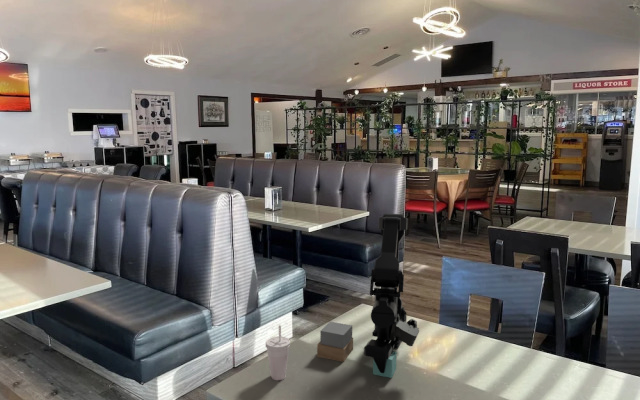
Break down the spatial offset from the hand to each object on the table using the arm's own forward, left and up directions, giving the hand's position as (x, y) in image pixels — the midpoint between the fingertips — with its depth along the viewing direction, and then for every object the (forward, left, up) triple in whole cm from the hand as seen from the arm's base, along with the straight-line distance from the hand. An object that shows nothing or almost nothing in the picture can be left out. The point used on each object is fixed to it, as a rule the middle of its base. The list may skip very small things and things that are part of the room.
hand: (384, 367), depth 123 cm
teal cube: (0, 0, -1) cm, 1 cm away
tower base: (-5, -16, -1) cm, 17 cm away
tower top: (-5, -15, +3) cm, 16 cm away
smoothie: (+13, -25, -1) cm, 28 cm away
